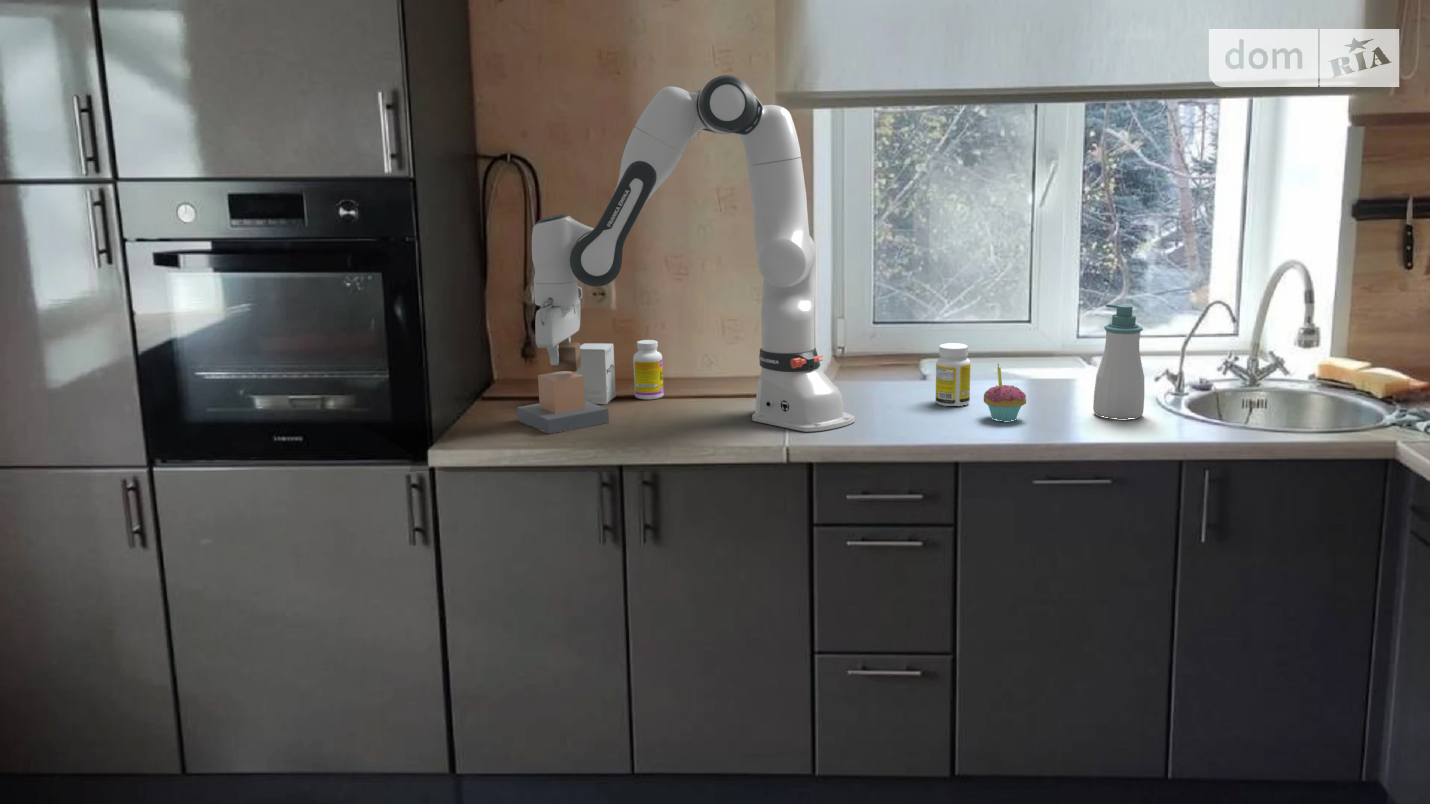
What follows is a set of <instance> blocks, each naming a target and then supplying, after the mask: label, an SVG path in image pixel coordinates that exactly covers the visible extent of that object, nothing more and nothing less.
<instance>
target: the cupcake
mask: <svg viewBox="0 0 1430 804" xmlns="http://www.w3.org/2000/svg"><path fill="white" fill-rule="evenodd" d="M996 370H997V381H998V385H996V386H992V387H990V388H988V389H987V390H985V391H984V394H983V403H984V404H986V405H987V406H988V410H989V413H990V415H991V416H990V417H991V419H992V418H993V419H997V420H1002V421H1011V420H1015V419H1016V420H1017V417H1018V415H1019V413H1020V410H1021V407H1022V406H1024V405H1026V404H1027V398H1026V397H1027V395H1026V393H1025V392H1024V391H1022V390H1021V389H1020V388H1018V387H1017V386H1014V385H1012V384H1011V385H1009V384H1007V385H1006V384H1004V385H1003V382H1002V381H1003V380H1002V369H1001V366H1000V364H999V363H997V367H996ZM993 419H992V420H993ZM1016 420H1015V421H1016Z"/></svg>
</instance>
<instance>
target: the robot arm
mask: <svg viewBox="0 0 1430 804" xmlns="http://www.w3.org/2000/svg"><path fill="white" fill-rule="evenodd" d="M796 129H797V128H796V126H795V124H794V120H793V117H792V114H791V113H790V111H789V110H788V109H786V107H783V106H781V105H776V104H764V105H763V103H762V102H761V101H760V100H759V99H758V97H757V96H756V94H755V93H754V92H753V90H752V89H751V87H750V86H749V85H748V84H747V83H746V82H745V81H743V80H742V79H740V78H739V77H737V76H734V75H729V74H726V75H719V76H716V77H713V78H712V79H710V80H709V81H708V82H706V84H705V85H703V87H702V88H701V89H700V90H698V91H696V92H690V91H688V90H685V89H684V88H681V87H677V86H665V87H663V88H661V89H659V91H658V92H657V93H656V94H655V96H653V98H652V99H651V101H650V102H649V103H648V105H647V106H646V107H645V109H644V110H643V112H642V114H641V115H640V117H639V118H638V120H637V121H636V124H635V126H634V127H633V129H632V131H631V133H630V135H629V138H628V140H627V143H626V145H625V148H624V150H623V154H622V158H621V161H620V162H621V163H620V170H619V177H618V180H617V184H616V187H615V188H614V189H615V190H614V191H613V194H612V195H611V198H610V199H609V201H608V204H607V205H606V207H605V208H604V211H603V213H602V215H601V216H600V218H599V220H598V222H597V224H595V227H592V226H588V225H585V224H583V223H582V222H579V221H577V220H576V219H574V218H572V217H571V216H570V215H569V214H555V215H551V216H548V217H545V218H542V219H539V220H538V221H537V222H536V223H535V225H533V227H532V232H531V233H532V234H531V257H532V258H531V259H532V264H533V266H534V276H533V289H534V304H535V305H536V306H539V307H540V308H539V309H538V310H536V313H535V323H534V325H535V326H534V327H535V330H534V331H535V333H534V334H535V344H536V346H537V348H540V349H546V350H547V354H548V356H549V364H550V365H551V366H552V365H558V364H559V363H560V355H559V352H558V348H559V343H572V342H571V341H572V339H571V337H572V336H573V335H574V334H576V333H577V332H579V331H580V328H581V299H583V289H582V287H581V286H579V285H578V281H580V282H581V283H582V284H584V285H586V286H590V287H597V288H598V287H599V288H600V287H603V286H604V287H605V286H607V285H608V284H610V283H612V282H613V281H614V280H616V278H617V277H618V275H619V274H620V271H621V268H622V263H623V262H622V261H623V250H624V245H625V243H626V240H627V238H628V236H629V234H630V232H631V230H632V228H633V226H634V224H635V223H636V221H637V219H638V217H639V215H640V214H641V211H642V210H643V207H644V206H645V205H646V203H647V202H648V200H649V199H650V198H651V196H652V195H653V194H654V193H655V192H656V191H657V190H658V188H660V187H661V186H662V184H663V183H664V182H665V181H666V180H667V179H668V178H669V176H670V175H671V173H672V172H673V171H674V169H675V168H676V167H677V165H678V163H679V162H680V160H681V159H682V156H683V154H684V153H685V151H686V149H687V147H688V145H689V143H690V142H691V141H692V139H693V137H694V136H695V135H696V134H697V133H698V132H700V131H701V130H702V131H707V132H710V133H715V134H720V135H731V134H735V135H737V136H738V137H739V138H740V140H741V141H742V144H743V147H744V151H745V157H746V168H747V171H748V174H747V175H748V179H749V180H748V181H749V186H750V187H749V189H750V193H751V194H750V195H751V200H752V201H751V202H752V209H753V210H752V213H753V214H752V215H753V226H754V227H753V228H754V229H753V230H754V231H753V232H754V242H755V251H756V259H757V260H756V261H757V268H758V270H759V272H760V275H761V276H762V277H763V279H762V297H761V298H762V299H761V309H760V310H761V311H760V312H761V313H760V315H761V317H760V319H761V323H760V324H761V327H760V328H761V330H760V331H761V333H760V334H761V336H760V337H761V348H760V349H759V354H758V359H759V366H760V367H761V368H760V369H761V370H760V374H759V377H758V380H757V383H756V384H757V385H756V398H755V407H754V408H755V410H754V413H753V414H752V415H751V420H752V421H753V422H758V423H762V424H767V425H770V426H771V425H772V426H777V427H780V428H784V429H785V428H786V429H791V430H794V431H800V432H806V433H807V432H820V431H821V432H822V431H827V430H832V429H837V428H840V427H845V426H848V425H850V424H853V423H854V422H855V421H856V419H855V416H854V415H853V414H850V413H848V412H846V411H844V401H843V395H842V393H841V391H840V390H839V388H838V387H837V386H836V385H835V384H834V383H833V382H832V380H830V378H829V377H828V375H826V374H825V372H824V371H823V370H822V369H821V363H820V362H823V361H824V359H821V358H823V357H824V355H822V354H821V355H819V354H818V351H817V349H816V347H815V300H816V299H815V297H816V275H817V274H816V272H817V271H816V264H817V250H816V244H815V242H814V240H813V238H812V237H811V236H810V228H809V215H808V202H807V199H808V198H807V191H806V183H805V176H804V168H803V161H802V160H803V159H802V154H801V146H800V142H799V137H798V133H797V130H796Z"/></svg>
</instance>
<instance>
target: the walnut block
mask: <svg viewBox="0 0 1430 804" xmlns="http://www.w3.org/2000/svg"><path fill="white" fill-rule="evenodd" d="M580 346H581V342H570V343H559V348H558V352H559V355H560V363H559V364H558V365H551V366H552V367H551V368H552V372H561V371H570V372H575V371H577V370H578V369H579V368H580V367H581V355H580Z"/></svg>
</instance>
